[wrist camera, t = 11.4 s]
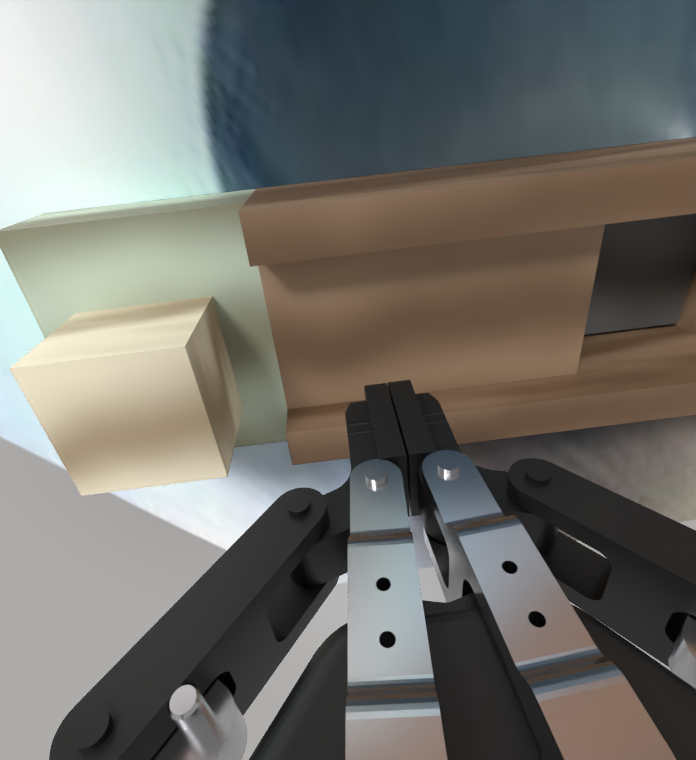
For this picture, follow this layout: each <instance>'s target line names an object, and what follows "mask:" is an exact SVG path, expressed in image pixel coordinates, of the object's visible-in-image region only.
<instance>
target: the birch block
mask: <svg viewBox="0 0 696 760" xmlns="http://www.w3.org/2000/svg"><path fill="white" fill-rule="evenodd" d="M9 369H10V371H11V373H12V374H13V376H14V378H15V380H16V381H17V383H18V385H19V387H20V388H21V390H22V392H23V394H24V395H25V397H26V399H27V401H28V402H29V404H30V406H31V408H32V409H33V411H34V413H35V415H36V416H37V418H38V420H39V422H40V423H41V425H42V427H43V429H44V431H45V432H46V434H47V436H48V438H49V439H50V441H51V443H52V445H53V446H54V448H55V450H56V452H57V453H58V455H59V457H60V459H61V460H62V462H63V464H64V466H65V467H66V469H67V471H68V473H69V474H70V476H71V478H72V480H73V481H74V483H75V485H76V487H77V488H78V490H79V492H80V494H81V495H90V494H98V493H106V492H114V491H121V490H129V489H137V488H144V487H152V486H160V485H168V484H175V483H183V482H191V481H198V480H206V479H214V478H222V477H228V472H229V468H230V464H231V459H232V455H233V450H234V446H235V442H236V437H237V433H238V429H239V424H240V420H241V416H242V411H243V406H242V402H241V398H240V395H239V391H238V388H237V384H236V380H235V377H234V373H233V369H232V366H231V362H230V358H229V355H228V351H227V347H226V344H225V340H224V336H223V333H222V329H221V325H220V322H219V318H218V314H217V311H216V307H215V304H214V300H213V296H208V297H200V298H192V299H184V300H176V301H168V302H160V303H152V304H144V305H136V306H128V307H120V308H112V309H104V310H96V311H89V312H81V313H75V314H74V315H73V316H72V317H70V318H69V319H68V320H67V321H66V322H64V323H63V324H62V325H61V326H60V327H58V328H57V329H56V330H55V331H54V332H52V333H51V334H50V335H49V336H48V337H47V338H45V339H44V340H43V341H42V342H41V343H39V344H38V345H37V346H36V347H35V348H33V349H32V350H31V351H30V352H29V353H27V354H26V355H25V356H24V357H23V358H21V359H20V360H19V361H18V362H17V363H15V364H14V365H13V366H12V367H11V368H9Z"/></svg>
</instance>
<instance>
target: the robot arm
mask: <svg viewBox="0 0 696 760" xmlns="http://www.w3.org/2000/svg"><path fill="white" fill-rule="evenodd" d="M364 392H365V401H361V402H353V403H350V404H349V406H348V408H347V410H346V412H345V418H346V426H347V435H348V443H349V452H350V460H351V474H350V476H349V478H348V480H347V481H346V482H345V483H344V484H343V485H342V486H341V487H339V488H338V489H336V490H334V491H332V492H329V493H327V494H325V495H322V494H321V493H320V492H318V491H317V490H314V489H311V488H297V489H293V490H290V491H288V492H286V493H284V494H283V495H281V496H280V497H279V498H278V499H277V500H276V501H275V502H274V503H273V504H272V505H271V506H270V507H269V508H268V509H267V510H266V511H265V512H264V513H263V514H262V515H261V516H260V518H259V519H258V520H257V521H256V522H255V523H254V524H253V525H252V526H251V527H250V528H249V529H248V530H247V531H246V532H245V533H244V534H243V535H242V536H241V537H240V538H239V539H238V540H237V541H236V542H235V543H234V544H233V545H232V546H231V547H230V548H229V549H228V550H227V551H226V552H225V553H224V554H223V555H222V556H221V557H220V558H219V559H218V561H216V562H215V563H214V565H213V566H212V567H211V568H210V569H209V570H208V571H207V572H206V573H205V574H204V575H203V576H202V577H201V578H200V579H199V580H198V581H197V582H196V583H195V584H194V585H193V586H192V587H191V588H190V589H189V590H188V591H187V592H186V593H185V594H184V595H183V596H182V597H181V598H180V599H179V600H178V601H177V602H176V603H175V604H174V606H172V608H170V609H169V611H168V612H167V613H166V614H165V615H164V616H163V617H162V618H161V619H160V620H159V621H158V622H157V623H156V624H155V625H154V626H153V627H152V628H151V629H150V630H149V631H148V632H147V633H146V634H145V635H144V636H143V637H142V638H141V639H140V640H139V641H138V642H137V643H136V644H135V645H134V646H133V647H132V648H131V649H130V650H129V652H127V654H126V655H125V656H124V657H123V658H122V659H121V660H120V661H119V662H118V663H117V664H116V665H115V666H114V667H113V668H112V669H111V670H110V671H109V672H108V673H107V674H106V675H105V676H104V677H103V678H102V679H101V680H100V681H99V682H98V683H97V684H96V685H95V686H94V687H93V688H92V689H91V690H90V691H89V692H88V693H87V694H86V695H85V696H84V697H83V698H82V699H81V701H80V702H79V703H78V704H77V705H76V706H75V707H74V708H73V709H72V710H71V711H70V712H69V714H68V715H67V716H66V717H65V719H64V720H63V721H62V723H61V725H60V726H59V728H58V730H57V732H56V734H55V736H54V739H53V742H52V745H51V749H50V758H49V760H241V759H242V757H243V754H244V751H245V748H246V743H247V727H246V722H245V720H244V717H243V715H244V714H245V712H246V711H247V709H248V708H249V706H250V705H251V704H252V702H253V701H254V700H255V698H256V697H257V695H258V694H259V692H260V691H261V690H262V688H263V687H264V685H265V684H266V683H267V681H268V680H269V678H270V677H271V676H272V674H273V673H274V671H275V670H276V668H277V667H278V666H279V664H280V663H281V662H282V660H283V659H284V657H285V656H286V654H287V653H288V652H289V650H290V649H291V647H292V646H293V644H294V643H295V642H296V640H297V639H298V637H299V636H300V635H301V633H302V632H303V631H304V629H305V628H306V626H307V625H308V623H309V622H310V621H311V619H312V618H313V616H314V615H315V614H316V612H317V611H318V609H319V608H320V606H321V605H322V604H323V602H324V601H325V600H326V598H327V597H328V595H329V594H330V593H331V591H332V590H333V588H334V587H335V585H336V584H337V581H338V578H339V576H340V575H343V574H345V573H347V572H348V623H347V624H345V625H343V626H341V627H340V628H339V629H337V630H336V631H335V632H334V633H332V634H331V635H330V636H329V637H328V638H327V639H326V640H325V641H324V642H323V644H322V645H321V646H320V647H319V648H318V650H317V651H316V652H315V654H314V655H313V657H312V659H311V660H310V662H309V663H308V665H307V667H306V669H305V670H304V672H303V673H302V675H301V676H300V678H299V680H298V681H297V683H296V684H295V686H294V688H293V689H292V691H291V693H290V694H289V696H288V697H287V699H286V701H285V702H284V704H283V705H282V707H281V709H280V710H279V712H278V714H277V715H276V717H275V718H274V720H273V722H272V723H271V725H270V726H269V728H268V730H267V731H266V733H265V735H264V736H263V738H262V739H261V741H260V743H259V744H258V746H257V747H256V749H255V751H254V752H253V754H252V756H251V757H250V759H249V760H696V531H695V530H693V529H691V528H689V527H687V526H685V525H683V524H680V523H678V522H676V521H674V520H672V519H670V518H668V517H665V516H663V515H661V514H659V513H657V512H655V511H653V510H651V509H648V508H646V507H644V506H642V505H640V504H638V503H636V502H634V501H631V500H629V499H627V498H625V497H623V496H621V495H619V494H616V493H614V492H612V491H610V490H608V489H606V488H604V487H602V486H599V485H597V484H595V483H593V482H591V481H589V480H587V479H584V478H582V477H580V476H578V475H576V474H574V473H572V472H570V471H567V470H565V469H563V468H561V467H559V466H557V465H555V464H553V463H550V462H548V461H545V460H541V459H533V458H530V459H522V460H519V461H517V462H515V463H514V464H513V465H512V466H511V467H510V469H509V472H505V471H496V470H489V469H484V468H481V467H478V466H476V465H475V464H474V463H473V461H472V460H471V459H470V458H469V457H468V456H466V455H465V454H463V453H461V451H460V448H459V446H458V444H457V442H456V439H455V437H454V435H453V432H452V430H451V428H450V426H449V423H448V422H447V419H446V417H445V414H444V413H443V410H442V407H441V405H440V403H439V401H438V400H437V399H436V398H434V397H433V396H432V395H431V394H429V393H421V394H415V391H414V389H413V386H412V383H411V381H410V380H403V381H395V382H388V383H387V384H386V383H381V384H373V385H365V386H364ZM409 507H410V511H411V515H412V516H416V515H421V517H422V521H423V528H424V540H425V543H426V546H427V548H428V551H429V554H430V557H431V560H432V562H433V565H434V568H435V571H436V573H437V576H438V579H439V582H440V584H441V587H442V590H443V593H444V596H445V599H446V603H440V602H431V601H423V600H422V596H421V589H420V582H419V575H418V569H417V562H416V555H415V549H414V542H413V536H412V532H410V527H409V520H408V517H409ZM558 529H560V530H562V531H564V532H566V533H567V534H569V535H571V536H573V537H574V538H576V539H578V540H580V541H582V542H583V543H585V544H587V545H589V546H590V547H592V548H594V549H596V550H597V551H600V552H601V553H602V554H603V555H604V556H605V557H606V558H607V559H606V558H604V557H603V556H601V555H599V554H597V553H596V552H594V551H592V550H590V549H589V548H586V547H585V546H583V545H582V544H580V543H578V542H576V541H574V540H573V539H571V538H569V537H567V536H566V535H564V534H562V533H560V532H559V531H558ZM569 601H570V602H572V603H573V604H575V605H576V606H578V607H579V608H581V609H582V610H581V609H579V608H577V607H575V606H573V605H571V604H570V602H569ZM583 610H584V611H585V612H584V611H583ZM586 612H587V613H586ZM589 614H590V615H589ZM592 616H593V617H592ZM595 618H596V619H595ZM598 620H599V621H598ZM601 622H602V623H603V624H602V623H601ZM604 624H605V625H606V626H605V625H604ZM607 626H608V627H609V628H608V627H607ZM610 628H611V629H612V630H614V631H615V632H617V633H618V634H620V635H622V636H623V637H625V638H626V639H628V640H629V641H631V642H632V643H634V644H635V645H637V646H638V647H640V648H641V649H643V650H644V651H646V652H647V653H649V654H650V655H652V656H653V657H655V658H656V659H658V660H659V661H661V662H663V663H664V664H665V665H667V666H668V667H670V670H671V671H670V670H668V669H667V668H665V667H664V666H662V665H661V664H660V663H658V662H657V661H655V660H654V659H652V658H651V657H650V656H648V655H647V654H645V653H644V652H642V651H641V650H639V649H638V648H636V647H635V646H634V645H632V644H631V643H630V642H628V641H627V640H625V639H624V638H622V637H621V636H620V635H618V634H617V633H615V632H614V631H612V630H611V629H610Z"/></svg>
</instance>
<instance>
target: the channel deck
mask: <svg viewBox="0 0 696 760" xmlns="http://www.w3.org/2000/svg"><path fill="white" fill-rule="evenodd" d="M0 248H1V250H2V252H3V254H4V256H5V258H6V260H7V262H8V264H9V266H10V268H11V270H12V272H13V274H14V276H15V278H16V280H17V282H18V284H19V287H20V289H21V291H22V293H23V295H24V297H25V299H26V301H27V303H28V305H29V307H30V309H31V311H32V313H33V315H34V317H35V319H36V321H37V323H38V325H39V327H40V329H41V331H42V333H43V335H44V337H45V338H47V337H48V336H49V335H50V334H51V333H52V332H54V331H55V330H56V329H57V328H58V327H60V326H61V325H62V324H63V323H64V322H66V321H67V320H68V319H69V318H70V317H72V316H73V315H74V314H75V313H81V312H89V311H96V310H104V309H112V308H120V307H128V306H136V305H144V304H152V303H160V302H168V301H176V300H184V299H192V298H200V297H208V296H213V300H214V304H215V307H216V311H217V314H218V318H219V322H220V325H221V329H222V333H223V336H224V340H225V344H226V347H227V351H228V355H229V358H230V362H231V366H232V369H233V373H234V377H235V380H236V384H237V388H238V391H239V395H240V398H241V402H242V406H243V411H242V416H241V420H240V424H239V429H238V433H237V437H236V442H235V446H234V447H241V446H249V445H257V444H265V443H273V442H281V441H287V442H288V446H289V451H290V456H291V460H292V465H297V464H305V463H313V462H321V461H329V460H337V459H345V458H350V452H349V443H348V435H347V426H346V418H345V412H346V410H347V408H348V406H349V404H350V403H353V402H361V401H365V392H364V386H365V385H373V384H381V383H386V384H387V383H388V382H395V381H403V380H410V381H411V383H412V386H413V389H414V391H415V394H421V393H429V394H431V395H432V396H433V397H434V398H436V399H437V400H438V401H439V403H440V405H441V407H442V410H443V413H444V414H445V417H446V419H447V422H448V423H449V426H450V428H451V430H452V432H453V435H454V437H455V439H456V442H457V444H465V443H473V442H481V441H489V440H497V439H505V438H513V437H521V436H529V435H537V434H545V433H553V432H561V431H569V430H577V429H585V428H593V427H601V426H609V425H617V424H625V423H633V422H641V421H649V420H657V419H665V418H673V417H681V416H689V415H696V137H693V138H684V139H676V140H667V141H659V142H650V143H642V144H633V145H625V146H616V147H608V148H599V149H591V150H582V151H574V152H565V153H557V154H548V155H539V156H531V157H522V158H514V159H505V160H497V161H488V162H480V163H471V164H463V165H454V166H446V167H437V168H429V169H420V170H412V171H403V172H395V173H386V174H377V175H369V176H360V177H352V178H343V179H335V180H326V181H318V182H309V183H301V184H292V185H284V186H275V187H267V188H258V189H250V190H241V191H233V192H224V193H215V194H207V195H198V196H190V197H181V198H173V199H164V200H156V201H147V202H139V203H130V204H122V205H113V206H105V207H96V208H88V209H79V210H71V211H62V212H53V213H45V214H42V215H39V216H36V217H34V218H31V219H28V220H25V221H23V222H20V223H17V224H14V225H12V226H9V227H6V228H3V229H1V230H0ZM668 324H671V325H668ZM659 325H663V326H659ZM651 326H654V327H651ZM643 327H646V328H643ZM635 328H638V329H635ZM627 329H630V330H627ZM619 330H622V331H619ZM610 331H614V332H610ZM602 332H605V333H602ZM594 333H597V334H594ZM586 334H589V335H586Z"/></svg>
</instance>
